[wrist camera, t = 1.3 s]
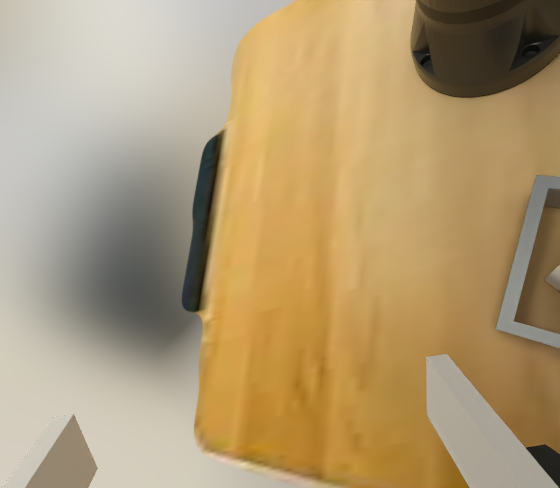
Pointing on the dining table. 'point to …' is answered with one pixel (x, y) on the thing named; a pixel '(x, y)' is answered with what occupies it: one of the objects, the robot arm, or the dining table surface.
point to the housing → (543, 195)
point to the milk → (554, 278)
